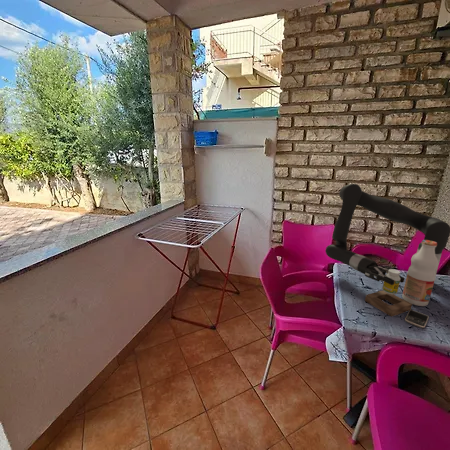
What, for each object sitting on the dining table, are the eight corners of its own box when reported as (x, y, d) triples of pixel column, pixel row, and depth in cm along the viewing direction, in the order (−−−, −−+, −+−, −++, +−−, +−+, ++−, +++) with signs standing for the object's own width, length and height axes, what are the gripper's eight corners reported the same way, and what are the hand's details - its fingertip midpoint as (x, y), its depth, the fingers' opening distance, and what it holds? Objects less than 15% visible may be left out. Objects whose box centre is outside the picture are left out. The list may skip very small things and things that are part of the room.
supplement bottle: (385, 286, 107) (390, 267, 104) (399, 292, 102) (404, 272, 100) (379, 290, 104) (384, 270, 101) (393, 296, 99) (398, 275, 97)
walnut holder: (383, 295, 112) (384, 289, 111) (410, 310, 101) (412, 304, 101) (364, 300, 108) (366, 294, 107) (391, 316, 97) (392, 310, 96)
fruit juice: (399, 293, 114) (413, 236, 107) (424, 298, 110) (440, 240, 103) (404, 303, 106) (418, 243, 99) (430, 309, 102) (448, 246, 95)
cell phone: (403, 322, 95) (404, 319, 94) (410, 311, 102) (410, 308, 101) (423, 330, 90) (424, 327, 90) (428, 318, 98) (429, 315, 97)
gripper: (352, 259, 110) (388, 276, 95) (375, 255, 115) (412, 270, 100) (350, 274, 113) (384, 293, 97) (372, 269, 118) (408, 286, 103)
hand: (398, 281), depth 99 cm, fingers closed on supplement bottle, 5 cm apart
